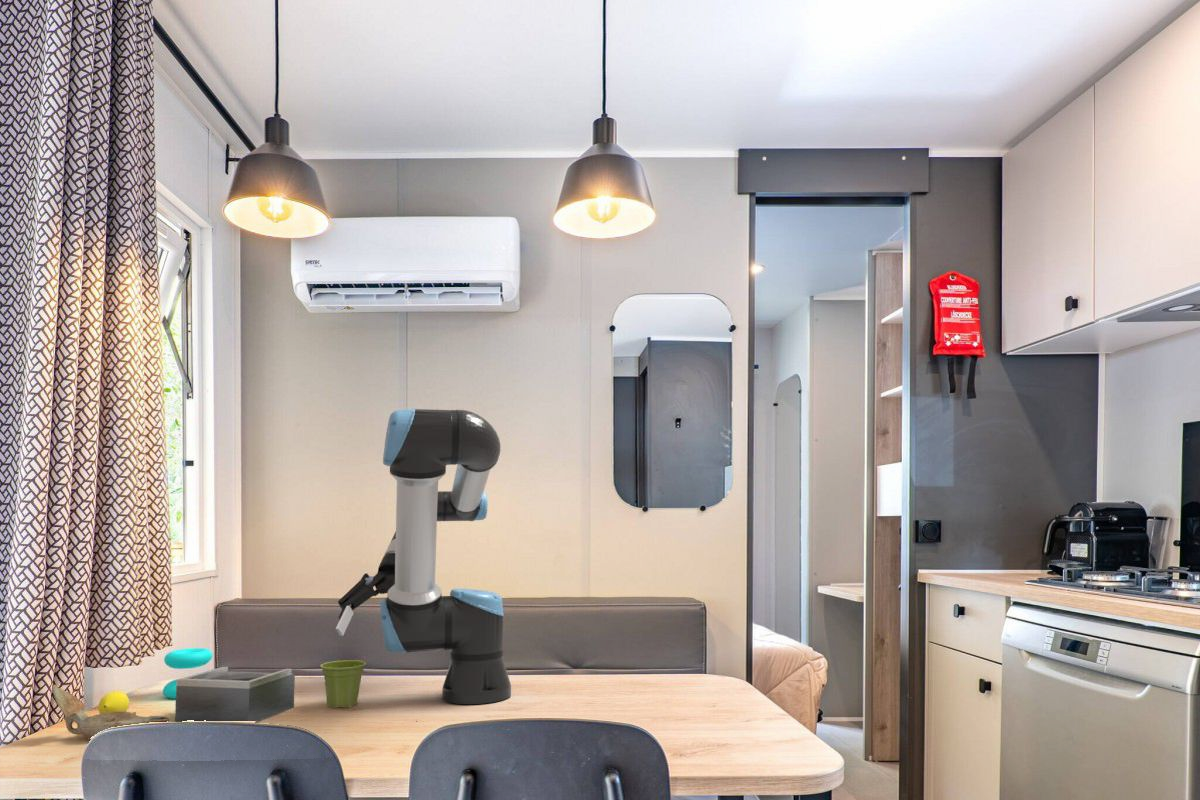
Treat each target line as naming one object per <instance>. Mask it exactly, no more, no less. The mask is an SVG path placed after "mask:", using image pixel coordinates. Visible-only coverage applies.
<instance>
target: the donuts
mask: <svg viewBox="0 0 1200 800" xmlns="http://www.w3.org/2000/svg"><path fill="white" fill-rule="evenodd" d="M163 659H164V664H165V665H166V666H168V667H169V668H171V669H175V670H184V669H185V670H186V669H194V668H199V667H203V666H205V665H207V664H208V663H210V661H212V659H213V652H212V651H211V650H210V649H208V648H203V647H191V648H181V649H175V650H172V651H169V652H167V654H166V655H165V656H164V658H163ZM177 679H178V678H175V679H173V680H171V681H168V683H166V684H165V685H164V686H163V689H162V693H163V696H164V697H165V698H167V699H170V700H171V699H172V700H176V685H177ZM179 679H181V678H179Z"/></svg>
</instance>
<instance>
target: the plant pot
mask: <svg viewBox="0 0 1200 800" xmlns="http://www.w3.org/2000/svg"><path fill="white" fill-rule="evenodd" d="M366 664H367V662H366V661H364V660H357V659H353V660H352V659H349V660H348V659H347V660H345V659H344V660H336V661H328V662H324V663H322V664H320V668H321V669H322V675H323V676H324V677H323V678H324V686H325V695H326V705H327V707H328V708H332V709H337V708H340V707H341V708H343V709H344V708H345V707H347V708H350V706H351V707H354V706H356V705H357V704H358V701H359V692H360V688H361V681H362V675H363V673H364V668H365V666H366ZM345 709H346V708H345Z"/></svg>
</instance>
